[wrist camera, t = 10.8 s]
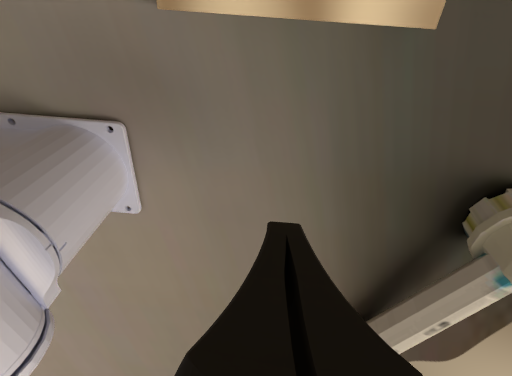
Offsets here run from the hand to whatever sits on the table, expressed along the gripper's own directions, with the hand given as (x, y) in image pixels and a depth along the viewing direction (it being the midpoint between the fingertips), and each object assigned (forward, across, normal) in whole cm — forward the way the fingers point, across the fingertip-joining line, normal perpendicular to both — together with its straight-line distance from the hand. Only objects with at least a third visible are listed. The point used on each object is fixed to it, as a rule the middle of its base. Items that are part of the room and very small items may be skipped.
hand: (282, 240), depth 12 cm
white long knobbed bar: (+10, -15, +14) cm, 23 cm away
